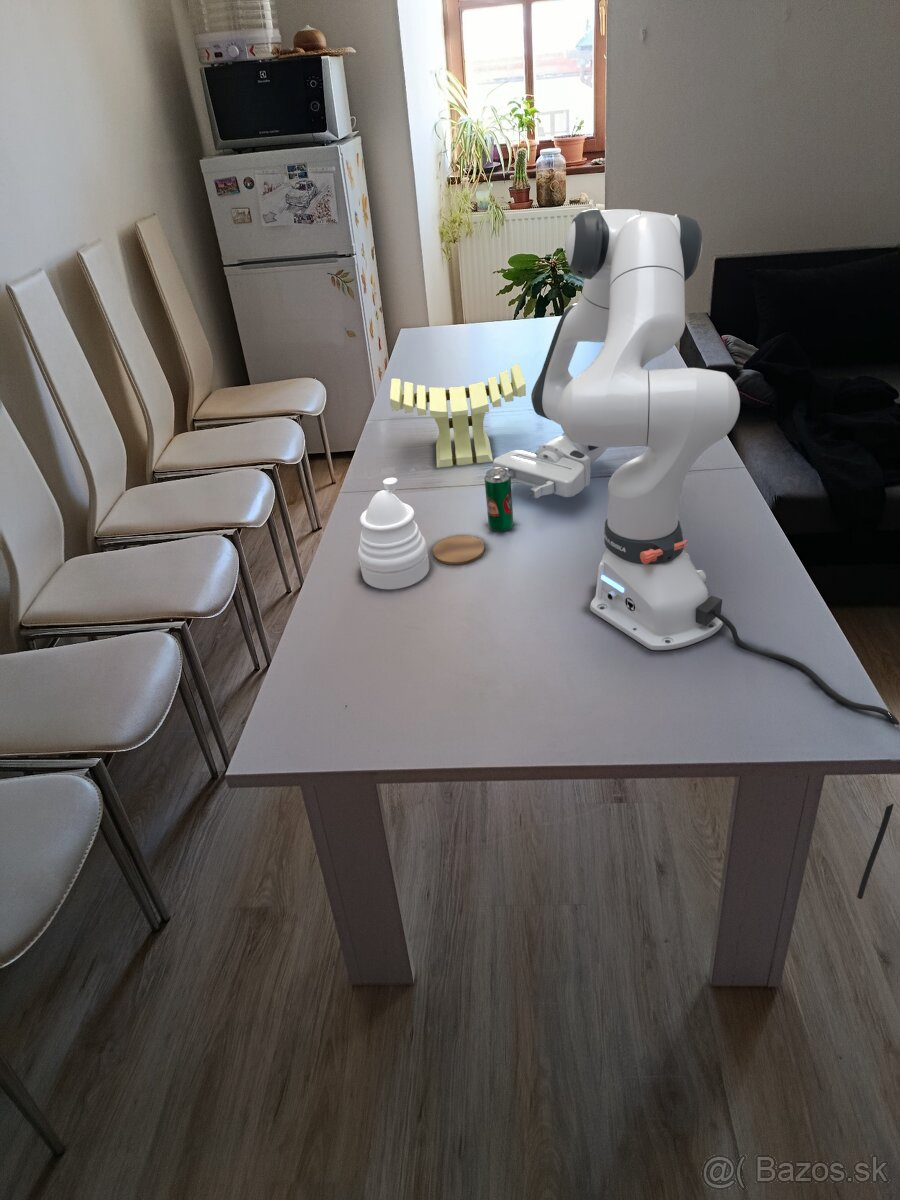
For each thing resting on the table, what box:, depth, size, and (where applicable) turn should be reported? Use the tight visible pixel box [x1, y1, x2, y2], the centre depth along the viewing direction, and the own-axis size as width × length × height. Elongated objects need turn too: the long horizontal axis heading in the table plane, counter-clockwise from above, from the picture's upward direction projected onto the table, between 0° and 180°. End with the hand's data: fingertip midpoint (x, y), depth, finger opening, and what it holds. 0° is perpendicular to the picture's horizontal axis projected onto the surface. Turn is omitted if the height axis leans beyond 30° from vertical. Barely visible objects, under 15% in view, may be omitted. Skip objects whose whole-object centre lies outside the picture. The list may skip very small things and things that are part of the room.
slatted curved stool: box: [389, 363, 527, 469], centre depth 186 cm, size 30×16×18 cm, turn 91°
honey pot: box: [357, 477, 430, 590], centre depth 145 cm, size 13×13×18 cm
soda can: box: [483, 467, 514, 533], centre depth 156 cm, size 5×5×12 cm
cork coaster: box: [432, 534, 485, 566], centre depth 153 cm, size 10×10×1 cm
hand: (514, 488), depth 158 cm, fingers open, 8 cm apart
